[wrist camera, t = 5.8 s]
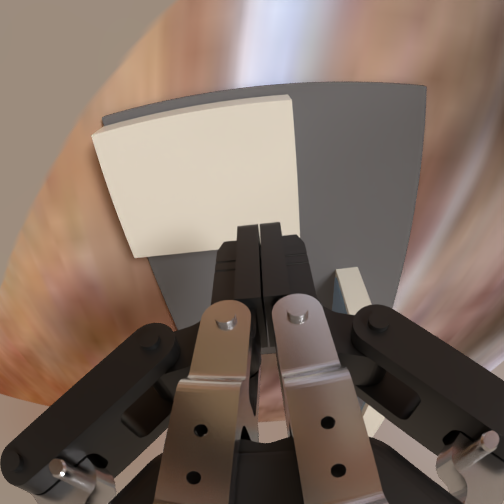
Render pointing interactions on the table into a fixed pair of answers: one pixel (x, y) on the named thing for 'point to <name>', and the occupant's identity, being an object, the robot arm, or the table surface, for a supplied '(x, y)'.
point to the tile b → (350, 302)
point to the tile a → (201, 173)
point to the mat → (325, 187)
